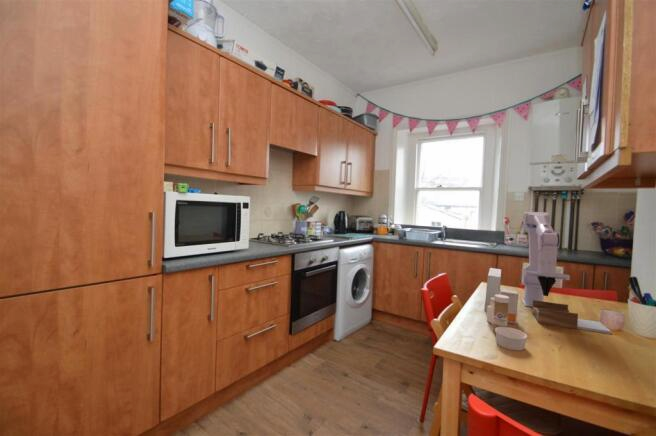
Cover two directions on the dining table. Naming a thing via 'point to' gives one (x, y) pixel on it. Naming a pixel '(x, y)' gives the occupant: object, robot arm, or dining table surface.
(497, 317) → the sprinkles bottle
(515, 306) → the skincare box
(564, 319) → the case
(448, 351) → the dining table surface
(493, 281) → the skincare box
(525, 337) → the ramekin
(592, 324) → the lid
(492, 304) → the salt shaker
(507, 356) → the dining table surface
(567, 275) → the robot arm
